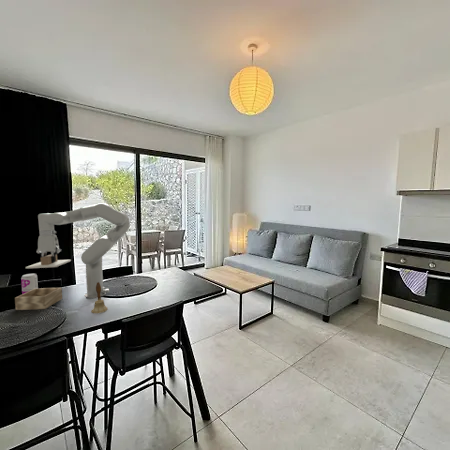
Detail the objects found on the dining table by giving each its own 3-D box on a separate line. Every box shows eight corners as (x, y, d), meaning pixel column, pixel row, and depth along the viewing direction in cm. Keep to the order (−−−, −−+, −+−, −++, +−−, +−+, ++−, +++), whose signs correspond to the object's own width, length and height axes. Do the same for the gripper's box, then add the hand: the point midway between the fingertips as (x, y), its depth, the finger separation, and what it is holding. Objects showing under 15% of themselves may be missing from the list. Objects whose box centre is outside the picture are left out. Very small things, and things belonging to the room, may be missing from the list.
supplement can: (29, 300, 158) (28, 276, 157) (19, 299, 159) (17, 276, 158) (41, 295, 165) (40, 273, 165) (31, 295, 167) (29, 273, 166)
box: (62, 300, 157) (61, 287, 156) (45, 310, 141) (44, 296, 140) (35, 301, 156) (35, 288, 155) (15, 311, 140) (14, 297, 139)
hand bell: (110, 310, 139) (108, 282, 138) (94, 315, 133) (92, 285, 132) (104, 306, 145) (103, 279, 144) (89, 310, 139) (87, 282, 138)
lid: (71, 261, 166) (70, 252, 165) (56, 266, 149) (55, 257, 148) (43, 262, 164) (42, 254, 164) (25, 268, 147) (24, 259, 147)
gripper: (64, 232, 160) (66, 260, 161) (36, 233, 158) (39, 261, 159) (58, 233, 152) (60, 263, 153) (28, 234, 150) (31, 264, 152)
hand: (49, 262), depth 156 cm, fingers closed on lid, 4 cm apart
